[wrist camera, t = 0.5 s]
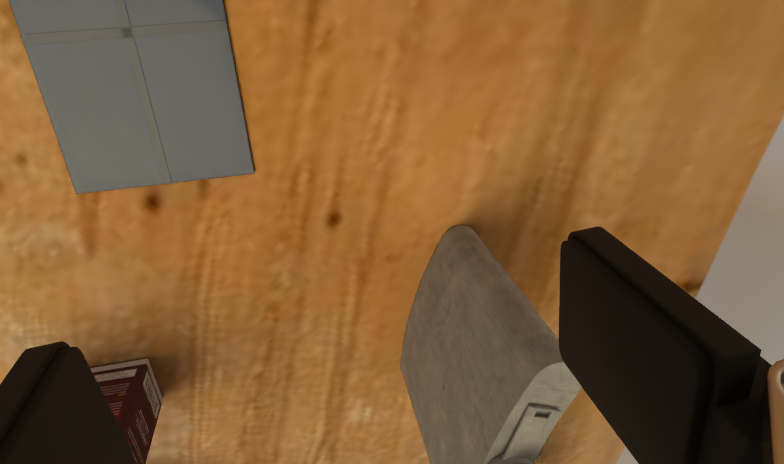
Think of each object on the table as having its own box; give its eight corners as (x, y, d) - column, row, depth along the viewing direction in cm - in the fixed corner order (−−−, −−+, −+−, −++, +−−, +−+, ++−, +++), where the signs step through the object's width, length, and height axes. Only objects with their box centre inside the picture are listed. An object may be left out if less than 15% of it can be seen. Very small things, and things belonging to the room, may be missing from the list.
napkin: (-46, -164, 27) (-50, -165, 27) (192, -169, 29) (190, -170, 29) (77, 192, 36) (76, 194, 36) (254, 172, 38) (254, 173, 37)
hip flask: (428, 378, 49) (510, 600, 32) (387, 374, 48) (449, 602, 30) (482, 228, 43) (620, 397, 26) (437, 220, 42) (548, 391, 24)
